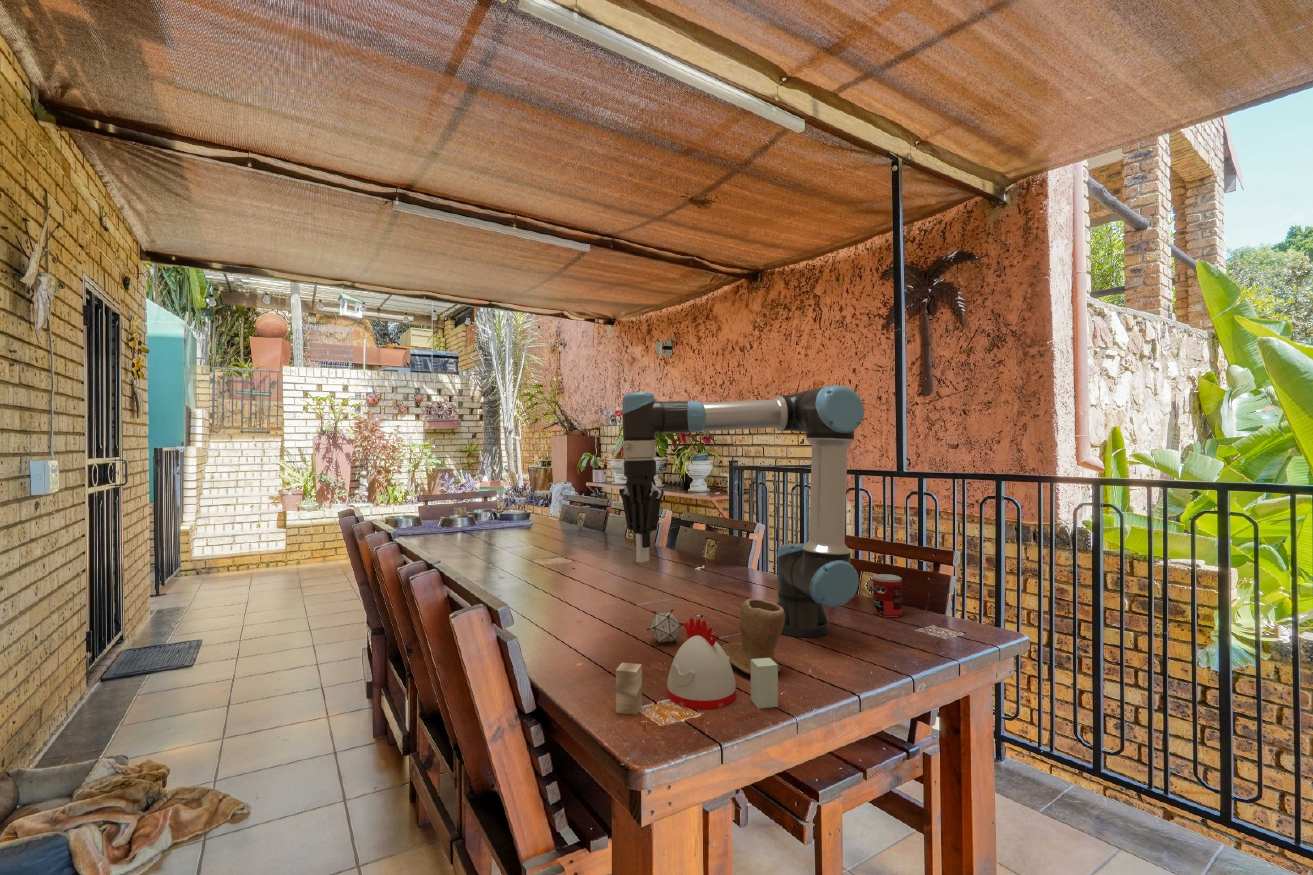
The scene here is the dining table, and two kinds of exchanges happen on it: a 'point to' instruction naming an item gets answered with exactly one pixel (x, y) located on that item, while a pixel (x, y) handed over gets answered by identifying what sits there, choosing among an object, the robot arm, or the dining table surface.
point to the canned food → (887, 595)
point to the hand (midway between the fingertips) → (642, 561)
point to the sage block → (764, 683)
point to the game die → (665, 627)
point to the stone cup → (756, 633)
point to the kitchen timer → (701, 671)
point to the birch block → (628, 688)
